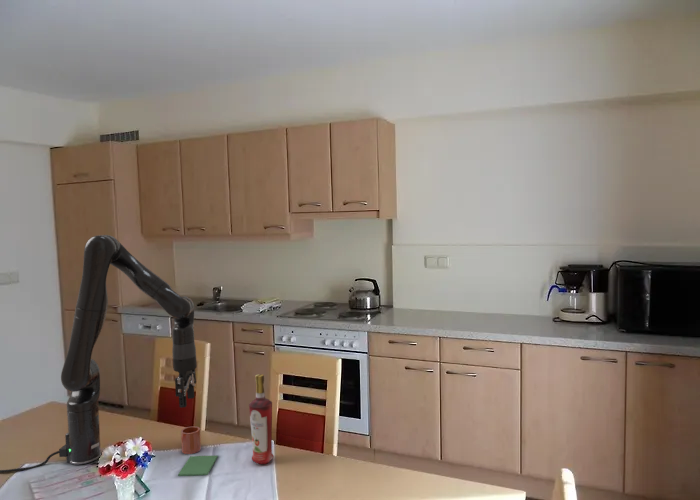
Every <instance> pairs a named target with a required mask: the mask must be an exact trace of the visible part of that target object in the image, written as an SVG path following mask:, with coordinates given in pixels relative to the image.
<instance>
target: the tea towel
mask: <svg viewBox="0 0 700 500" xmlns="http://www.w3.org/2000/svg"><path fill="white" fill-rule="evenodd" d="M218 458H219V456H218V455H191V456H189V457H188V459H187V461H186V462H185V463H184V465H183V466H182V468H181V469H180V470H179V472H178V474H177V476H178V477H191V476H193V477H194V476H209V473H210V472H211V470H212V468H213V467H214V465H215V463H216V461H217V459H218Z"/></svg>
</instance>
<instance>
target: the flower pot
mask: <svg viewBox="0 0 700 500" xmlns="http://www.w3.org/2000/svg"><path fill="white" fill-rule="evenodd" d="M201 438H202V437H201V428H200V427H199V426H196V425H195V426H194V425H193V426H187V427H184V428H182V429H181V430H180V441H181V443H180V444H181V453H182V454H185V455H193V454H196V453H199V452H200V451H201V449H202V441H201Z"/></svg>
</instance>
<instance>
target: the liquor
mask: <svg viewBox="0 0 700 500" xmlns="http://www.w3.org/2000/svg"><path fill="white" fill-rule="evenodd" d="M254 377H255V385H256V386H255V387H256V388H255V399H253V400H252V401H250V403H248V410H249V422H250V431H251V432H250V433H251V443H252V456H251V461H253V462H254V463H255V464H257V465H267V464H269V463H270V462H271V461H272V460H273V458H274V454H273V446H272V445H273V443H272V442H273V440H272V439H273V438H272V436H273V435H272V434H273V402H272V400H270V399H269V398H266V393H265V387H264V386H265V385H264V383H265V375H264V374H261V373H260V374H256V375H255V376H254Z"/></svg>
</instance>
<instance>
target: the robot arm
mask: <svg viewBox="0 0 700 500" xmlns="http://www.w3.org/2000/svg"><path fill="white" fill-rule="evenodd" d="M82 261H83V262H82V263H83V264H82V275H81V281H80V285H79V290H78V295H77V300H76V304H75V309H74V315H73V321H72V327H71V333H70V338H69V339H70V340H69V344H68V350H67V353H66V356H65V360H64V363H63V367H62V370H61V373H60V382H61V384H62V387H63V388H64V389H65V390H66V391H68V392H70V395H69V397H68V399H67V401H66V420H67V433H65V437H64V438H65V444H64V445H63V446H62V447H59V448H58V450H57V451H55V452H52V453H51V454H49V455H48V456H47V457H46V459H45V460H44V461H43V462H41V463H38V464H36V465H33V466H28V467H18V468H10V469H0V474H2V473H12V472H20V471H27V470H32V469H36V468H39V467H42V466H44V465H46V464H47V463H48V462H49V460H50V459H51V458H52V457H53V456H55V455H57V454H58V456H59V458H66V464H71V465H73V466H74V465H75V466H79V465H86V464H91V463H92V462H95V461H97V460H99V459H100V458H101V456H102V448H101V431H100V430H101V429H100V413H99V412H100V411H99V410H100V409H99V399H100V395H101V371H100V367H99V364H98V363H97V361H95V360H94V358H92V356H93V351H94V348H95V346H96V343H97V342H98V339H99V338H100V335H101V332H102V331H103V329H104V325H105V323H106V317H107V314H108V313H107V312H108V307H109V299H108V297H109V296H108V290H107V277H108V273H109V269H110V265H111V266H113V267H114V268H116V269H118V270H119V271H121V272H122V273H123V274H124V275H126V277H127V278H128V279H129V280H130V281H131V282H132V284H134V286H136V287H137V288H138V289H139V290H140V291H141V292H142V293H143V294H145V295H146V296H148V297H149V298H150V299H152V300H153V301H154V302H156V303H157V304H158V305H159V307H161V308H162V309H163V310H164V311H165V312H166V313H167V314H168V315H169V316H170V317H172V318H173V327H172V330H171V333H172V335H171V336H172V337H171V338H172V352H171V353H172V367H173V368H172V369H173V371H174V372H176V373H178V376H177V377H175V379H174V387H175V397H178V406H179V408H181V409H182V408H186V407H187V406H188V403H187V399H191V400H192V399H194V398H195V387H196V384H197V374H196V369H197V367H198V364H197V363H198V362H197V348H196V342H195V329H194V321H195V304H194V302H193V299H192V298H190V297H189V296H187V295H180V294H178V293H177V292H175V291H174V289H173V288H172V286H171V285H170V284H169V283H168V282H166V280H164V279H163V278H162V277H160V276H158V274H156V273H155V272H153V271H152V269H151V270H150V269H149V268H148V267H147V266H146V265H144V264H143V263H142V262H141V261H140V260H138V259H137V258H136V257H135V256H134V255H133V254H131V253H130V251H128V249H127V248H126V247H125V246H124V245H123V244H122V243H121V242H120V241H119V240H118V239H117V238H116V237H115V236H113V235H110V234H98V235H94V236H92V237H90V238H89V239H88V240H87V241H86V243H85V245H84V249H83V260H82ZM99 457H100V458H99Z"/></svg>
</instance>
